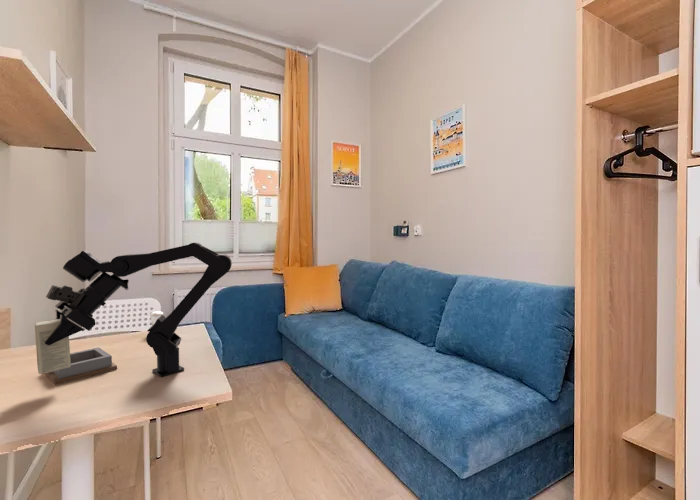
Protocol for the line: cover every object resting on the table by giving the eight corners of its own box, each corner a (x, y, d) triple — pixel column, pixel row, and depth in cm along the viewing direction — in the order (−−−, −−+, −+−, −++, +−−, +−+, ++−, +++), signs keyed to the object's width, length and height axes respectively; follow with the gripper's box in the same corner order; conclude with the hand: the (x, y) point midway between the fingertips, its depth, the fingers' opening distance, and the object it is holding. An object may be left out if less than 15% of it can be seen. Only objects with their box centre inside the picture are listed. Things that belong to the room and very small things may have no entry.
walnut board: (117, 369, 101) (117, 365, 101) (55, 384, 90) (55, 381, 90) (101, 358, 110) (101, 355, 110) (44, 371, 99) (43, 368, 99)
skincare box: (68, 363, 90) (67, 317, 90) (71, 367, 87) (69, 320, 87) (35, 370, 86) (33, 321, 85) (37, 375, 83) (35, 324, 82)
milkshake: (163, 335, 135) (163, 310, 135) (148, 335, 134) (148, 310, 134) (167, 332, 140) (167, 307, 139) (153, 332, 139) (153, 308, 138)
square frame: (111, 365, 101) (111, 355, 101) (59, 379, 91) (58, 367, 91) (99, 356, 108) (98, 347, 108) (49, 367, 99) (48, 357, 99)
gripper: (64, 270, 95) (10, 317, 87) (77, 276, 82) (14, 331, 74) (99, 295, 101) (52, 341, 93) (116, 304, 88) (62, 357, 81)
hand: (45, 342), depth 85 cm, fingers closed on skincare box, 4 cm apart
